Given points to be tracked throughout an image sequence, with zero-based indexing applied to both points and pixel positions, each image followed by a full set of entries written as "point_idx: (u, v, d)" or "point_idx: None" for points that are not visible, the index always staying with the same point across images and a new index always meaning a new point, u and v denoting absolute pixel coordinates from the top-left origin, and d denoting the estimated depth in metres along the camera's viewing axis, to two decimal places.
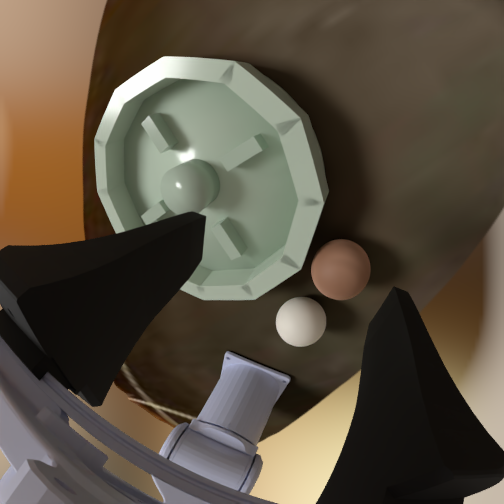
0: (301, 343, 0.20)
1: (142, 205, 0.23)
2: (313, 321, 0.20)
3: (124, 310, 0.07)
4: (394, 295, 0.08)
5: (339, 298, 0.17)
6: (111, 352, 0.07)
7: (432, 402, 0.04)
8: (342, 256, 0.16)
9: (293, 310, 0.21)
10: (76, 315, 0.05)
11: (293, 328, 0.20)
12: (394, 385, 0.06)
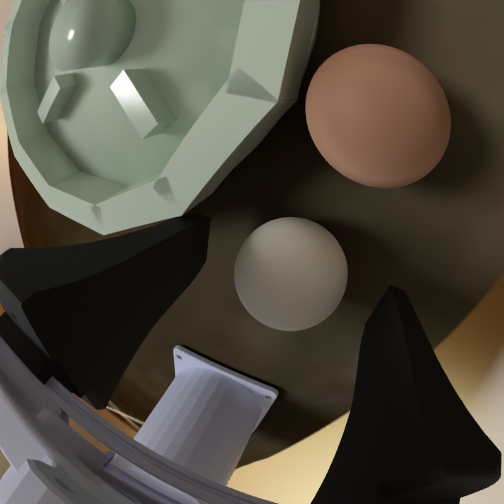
0: (291, 320, 0.09)
1: None
2: (319, 262, 0.08)
3: (129, 313, 0.07)
4: (390, 293, 0.08)
5: (391, 167, 0.05)
6: (115, 355, 0.07)
7: (426, 401, 0.04)
8: (382, 49, 0.05)
9: (269, 237, 0.09)
10: (81, 319, 0.05)
11: (268, 279, 0.08)
12: (390, 384, 0.06)
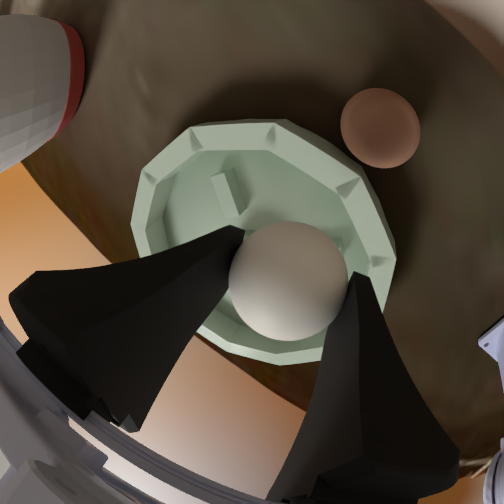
0: (288, 331, 0.08)
1: None
2: (318, 270, 0.08)
3: (168, 335, 0.07)
4: (353, 279, 0.09)
5: (406, 136, 0.10)
6: (153, 378, 0.07)
7: (371, 385, 0.04)
8: (346, 116, 0.11)
9: (264, 243, 0.08)
10: (126, 350, 0.05)
11: (263, 288, 0.08)
12: (342, 368, 0.06)
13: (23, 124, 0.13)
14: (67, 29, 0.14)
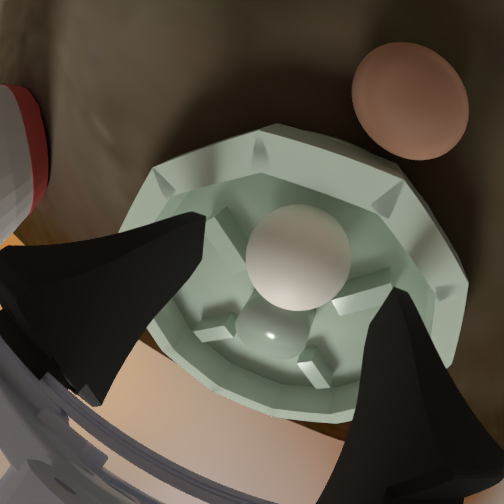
0: (300, 299, 0.09)
1: None
2: (326, 243, 0.09)
3: (124, 310, 0.07)
4: (394, 295, 0.08)
5: (456, 100, 0.05)
6: (111, 352, 0.07)
7: (432, 402, 0.04)
8: (360, 91, 0.07)
9: (279, 221, 0.09)
10: (76, 315, 0.05)
11: (279, 259, 0.09)
12: (395, 385, 0.06)
13: None
14: (15, 90, 0.13)
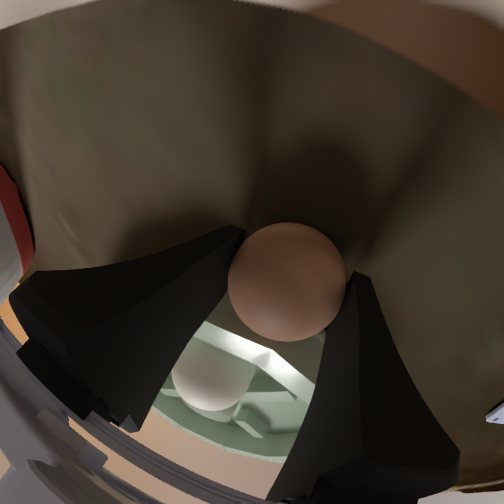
0: (206, 409, 0.12)
1: None
2: (219, 380, 0.11)
3: (169, 335, 0.07)
4: (353, 279, 0.09)
5: (307, 316, 0.08)
6: (153, 378, 0.07)
7: (370, 386, 0.04)
8: (228, 290, 0.09)
9: (187, 360, 0.12)
10: (126, 350, 0.05)
11: (186, 388, 0.11)
12: (342, 368, 0.06)
13: None
14: None
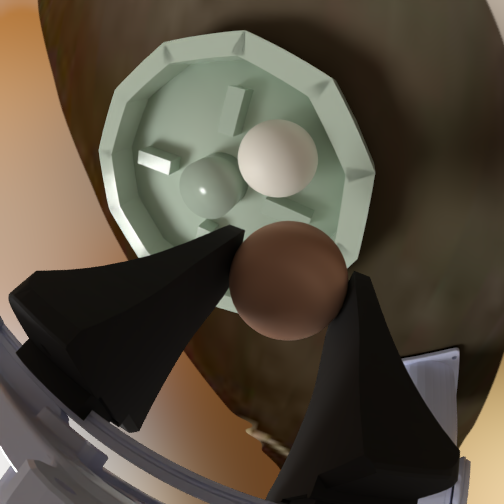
0: (268, 182, 0.13)
1: None
2: (308, 165, 0.12)
3: (168, 335, 0.07)
4: (353, 279, 0.09)
5: (309, 315, 0.08)
6: (153, 378, 0.07)
7: (370, 386, 0.04)
8: (229, 289, 0.09)
9: (294, 131, 0.12)
10: (126, 350, 0.05)
11: (279, 151, 0.12)
12: (342, 369, 0.06)
13: None
14: None
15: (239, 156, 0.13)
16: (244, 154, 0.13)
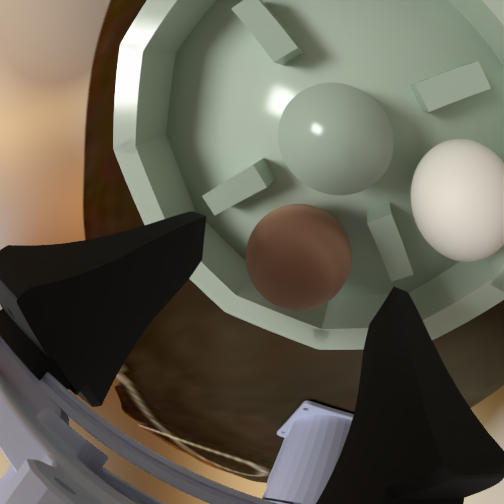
0: (466, 243, 0.06)
1: (201, 177, 0.13)
2: None
3: (124, 310, 0.07)
4: (394, 295, 0.08)
5: (319, 283, 0.09)
6: (111, 352, 0.07)
7: (432, 402, 0.04)
8: (246, 263, 0.10)
9: None
10: (76, 315, 0.05)
11: None
12: (395, 385, 0.06)
13: None
14: None
15: (457, 169, 0.06)
16: (473, 180, 0.05)
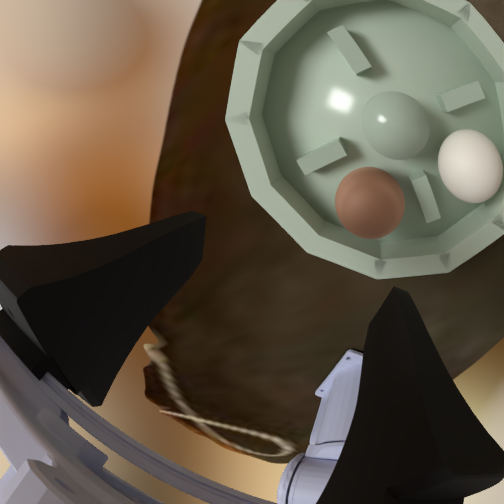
0: (473, 187, 0.10)
1: (290, 148, 0.17)
2: (491, 196, 0.10)
3: (124, 310, 0.07)
4: (394, 295, 0.08)
5: (392, 213, 0.13)
6: (111, 352, 0.07)
7: (432, 402, 0.04)
8: (339, 204, 0.14)
9: (502, 168, 0.10)
10: (76, 315, 0.05)
11: (496, 177, 0.09)
12: (395, 385, 0.06)
13: None
14: None
15: (465, 145, 0.10)
16: (475, 151, 0.09)
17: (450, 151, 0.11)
